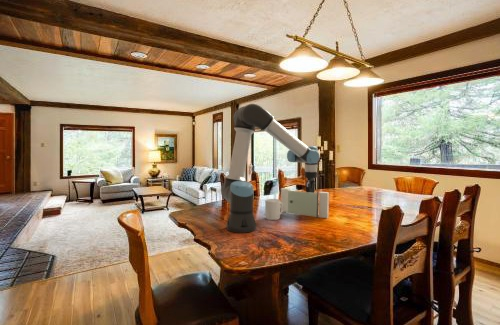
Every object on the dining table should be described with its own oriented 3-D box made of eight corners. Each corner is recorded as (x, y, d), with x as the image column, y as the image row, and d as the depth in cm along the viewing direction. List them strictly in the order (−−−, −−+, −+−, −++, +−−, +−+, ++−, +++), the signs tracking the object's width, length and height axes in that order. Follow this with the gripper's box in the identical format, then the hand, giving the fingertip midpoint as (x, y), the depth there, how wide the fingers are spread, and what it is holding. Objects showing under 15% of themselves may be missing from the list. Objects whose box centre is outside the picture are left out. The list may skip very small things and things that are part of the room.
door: (286, 214, 166) (287, 189, 165) (288, 213, 168) (288, 188, 167) (317, 218, 157) (317, 192, 156) (318, 217, 159) (318, 191, 159)
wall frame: (280, 211, 173) (281, 188, 172) (282, 210, 175) (283, 188, 175) (326, 218, 157) (327, 193, 156) (328, 217, 160) (329, 192, 159)
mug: (287, 218, 156) (287, 200, 155) (270, 221, 150) (270, 202, 150) (279, 215, 163) (279, 197, 163) (262, 217, 158) (262, 199, 157)
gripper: (313, 172, 158) (312, 211, 159) (319, 170, 168) (319, 207, 170) (301, 171, 161) (300, 210, 163) (308, 170, 172) (307, 205, 174)
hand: (310, 208), depth 167 cm, fingers closed
